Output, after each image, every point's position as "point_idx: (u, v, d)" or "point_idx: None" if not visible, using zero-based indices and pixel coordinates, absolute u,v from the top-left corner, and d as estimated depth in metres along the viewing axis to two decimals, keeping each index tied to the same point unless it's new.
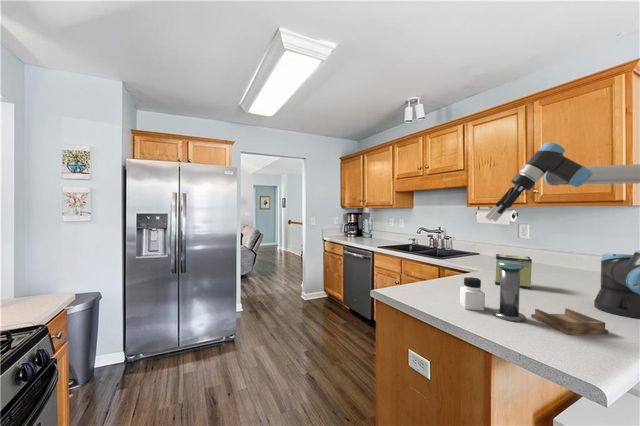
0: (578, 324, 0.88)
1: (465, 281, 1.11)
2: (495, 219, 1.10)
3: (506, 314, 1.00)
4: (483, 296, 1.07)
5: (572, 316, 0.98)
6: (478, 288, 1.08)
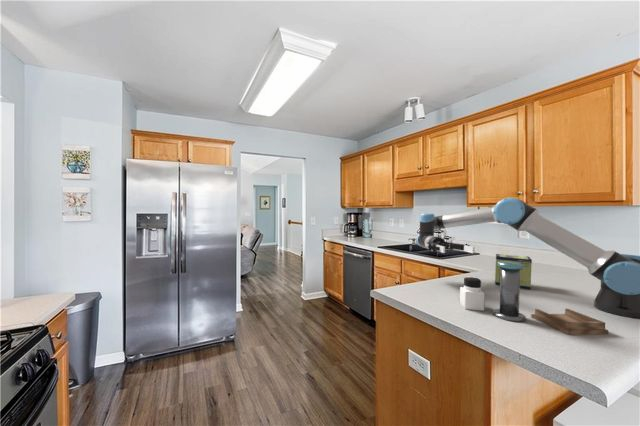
0: (578, 324, 0.88)
1: (465, 281, 1.11)
2: (442, 248, 1.20)
3: (506, 314, 1.00)
4: (483, 296, 1.07)
5: (572, 316, 0.98)
6: (478, 288, 1.08)
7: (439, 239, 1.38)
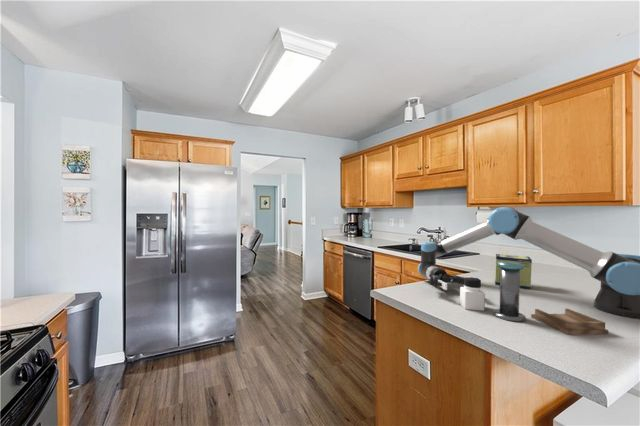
0: (578, 324, 0.88)
1: (465, 281, 1.11)
2: (444, 284, 1.17)
3: (506, 314, 1.00)
4: (483, 296, 1.07)
5: (572, 316, 0.98)
6: (478, 288, 1.08)
7: (441, 271, 1.35)
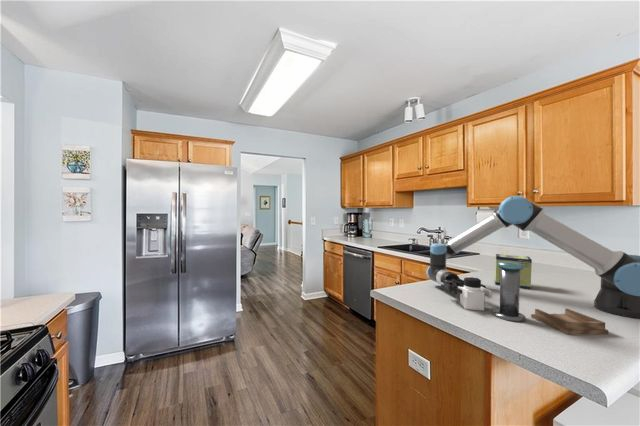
0: (578, 324, 0.88)
1: (465, 281, 1.11)
2: (466, 292, 1.06)
3: (506, 314, 1.00)
4: (483, 296, 1.07)
5: (572, 316, 0.98)
6: (478, 288, 1.08)
7: (453, 275, 1.25)
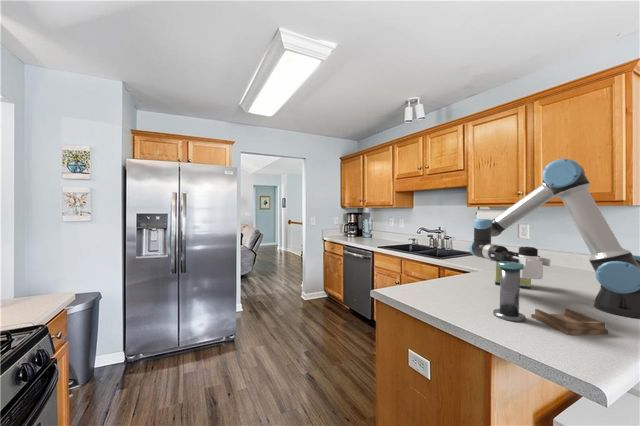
0: (578, 324, 0.88)
1: (521, 250, 1.09)
2: (524, 260, 1.04)
3: (506, 314, 1.00)
4: (541, 264, 1.05)
5: (572, 316, 0.98)
6: (535, 257, 1.06)
7: (502, 248, 1.23)
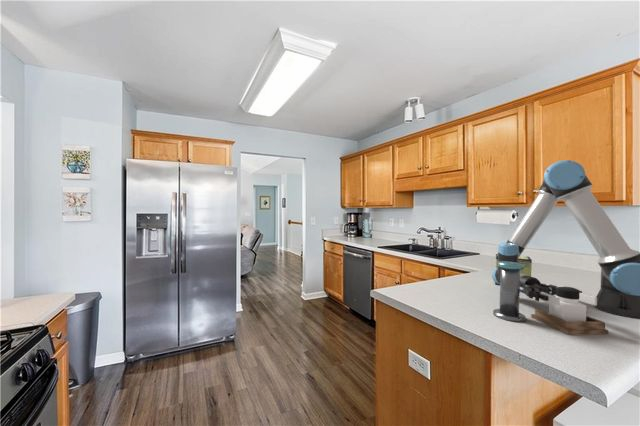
0: (578, 324, 0.88)
1: (560, 291, 0.94)
2: (556, 299, 0.91)
3: (506, 314, 1.00)
4: (585, 309, 0.91)
5: None
6: (577, 300, 0.92)
7: (533, 280, 1.09)
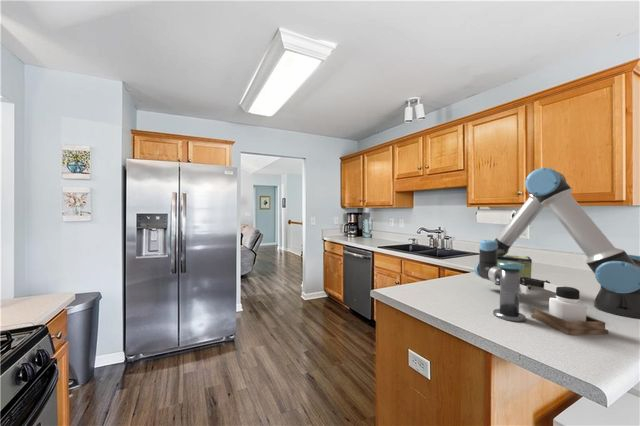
0: (578, 324, 0.88)
1: (560, 291, 0.94)
2: (525, 288, 1.04)
3: (506, 314, 1.00)
4: (585, 309, 0.91)
5: None
6: (577, 300, 0.92)
7: None
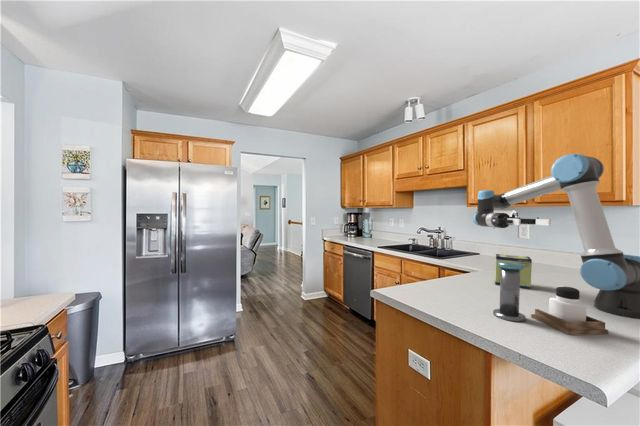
0: (578, 324, 0.88)
1: (560, 291, 0.94)
2: (517, 220, 1.15)
3: (506, 314, 1.00)
4: (585, 309, 0.91)
5: None
6: (577, 300, 0.92)
7: (504, 215, 1.33)
